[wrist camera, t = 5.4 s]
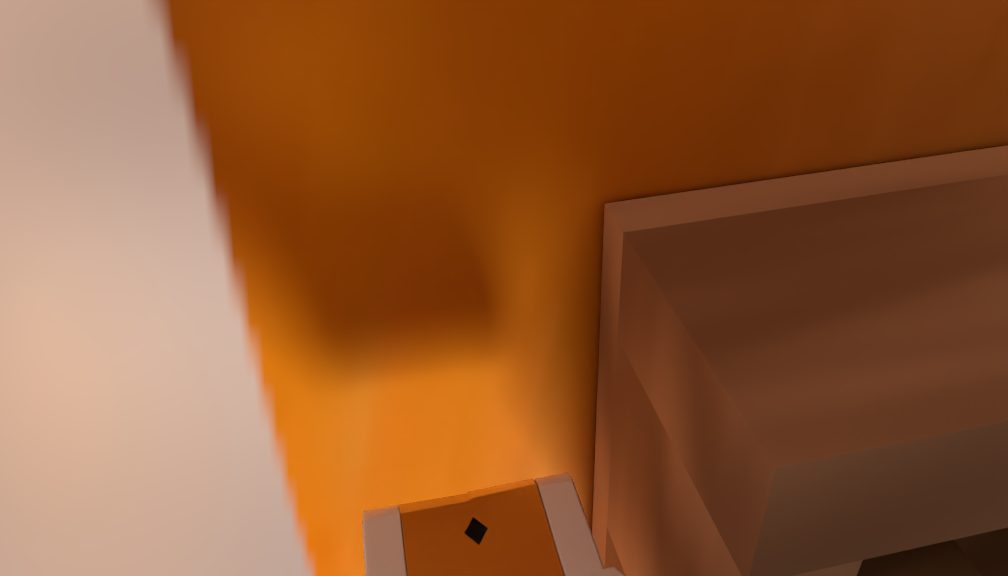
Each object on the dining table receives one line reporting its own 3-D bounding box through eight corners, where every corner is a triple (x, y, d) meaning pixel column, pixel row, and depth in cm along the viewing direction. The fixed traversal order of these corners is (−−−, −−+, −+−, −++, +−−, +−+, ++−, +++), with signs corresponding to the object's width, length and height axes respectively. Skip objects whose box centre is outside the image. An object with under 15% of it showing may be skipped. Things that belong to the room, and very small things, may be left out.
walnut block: (603, 203, 11) (776, 468, 7) (1043, 139, 12) (1418, 338, 8) (590, 549, 15) (687, 824, 11) (904, 483, 16) (1092, 716, 12)
